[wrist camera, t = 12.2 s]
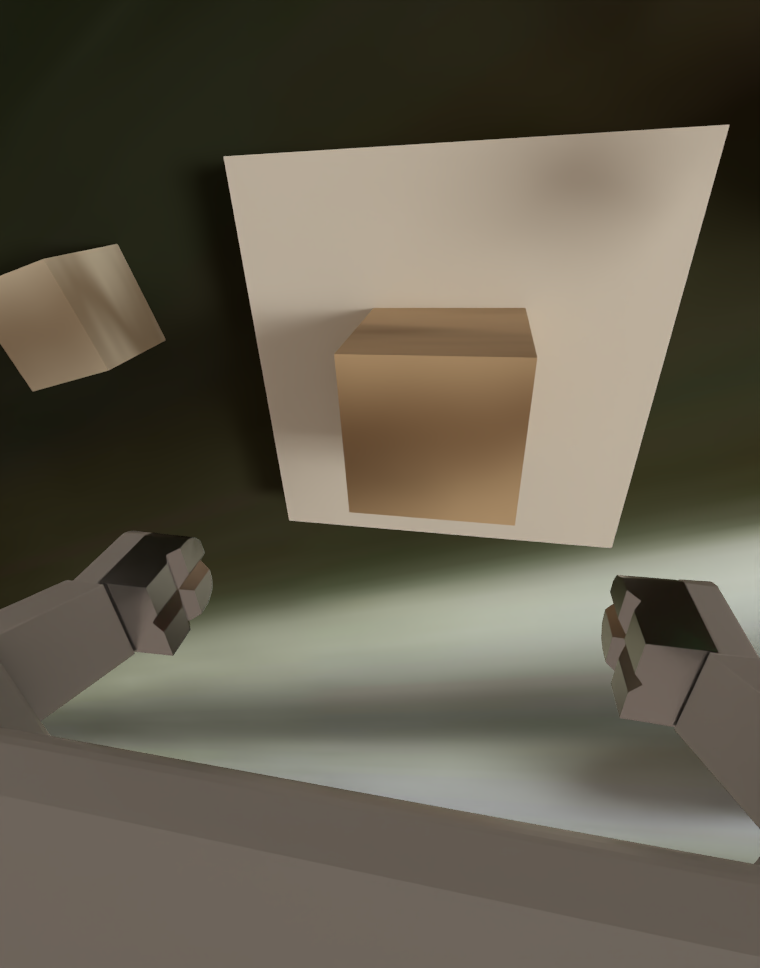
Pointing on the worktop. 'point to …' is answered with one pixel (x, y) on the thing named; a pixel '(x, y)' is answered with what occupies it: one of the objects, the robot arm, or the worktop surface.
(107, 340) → the maple block
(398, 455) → the oak block
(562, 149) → the plate
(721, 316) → the worktop surface
